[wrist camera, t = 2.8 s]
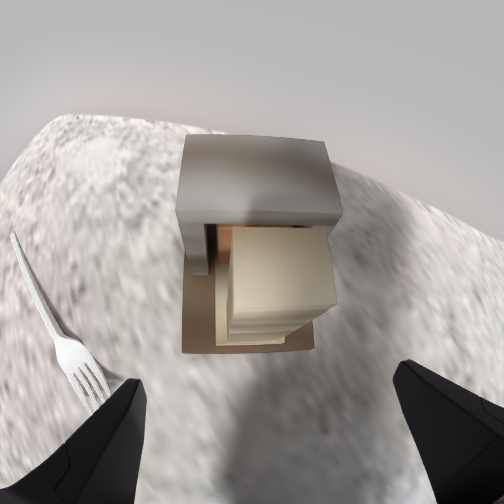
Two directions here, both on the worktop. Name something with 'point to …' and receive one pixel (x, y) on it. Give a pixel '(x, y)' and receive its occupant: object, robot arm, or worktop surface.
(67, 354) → the fork
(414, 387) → the robot arm
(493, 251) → the worktop surface
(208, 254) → the tunnel
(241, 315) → the beige orange stepped block
